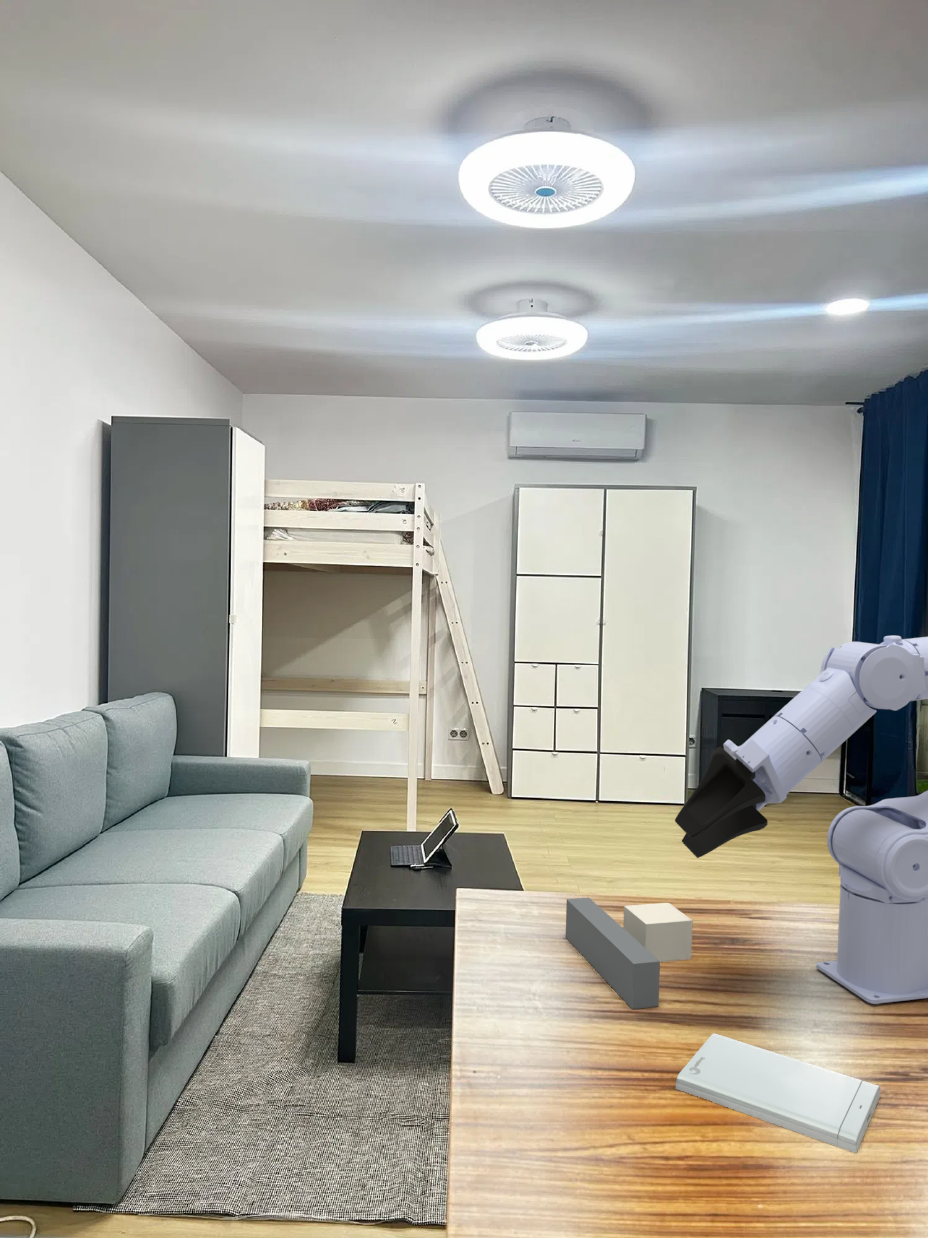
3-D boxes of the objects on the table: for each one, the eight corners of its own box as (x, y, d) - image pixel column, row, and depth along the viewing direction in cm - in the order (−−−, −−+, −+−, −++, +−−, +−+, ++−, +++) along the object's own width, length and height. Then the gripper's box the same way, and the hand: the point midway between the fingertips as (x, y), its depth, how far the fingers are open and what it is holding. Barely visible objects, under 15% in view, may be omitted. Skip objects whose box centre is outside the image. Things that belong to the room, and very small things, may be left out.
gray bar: (588, 935, 95) (589, 897, 94) (658, 1006, 79) (660, 961, 79) (565, 937, 94) (566, 899, 94) (632, 1009, 78) (633, 964, 78)
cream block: (666, 940, 94) (668, 902, 94) (691, 960, 89) (692, 920, 89) (622, 944, 93) (624, 906, 93) (644, 964, 88) (646, 924, 88)
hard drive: (675, 1075, 66) (856, 1137, 59) (713, 1030, 73) (880, 1081, 66) (674, 1097, 66) (856, 1162, 59) (713, 1050, 73) (880, 1103, 66)
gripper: (763, 736, 91) (663, 826, 89) (762, 680, 78) (646, 785, 77) (819, 786, 87) (715, 881, 86) (827, 736, 75) (706, 847, 73)
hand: (686, 840), depth 81 cm, fingers open, 7 cm apart
